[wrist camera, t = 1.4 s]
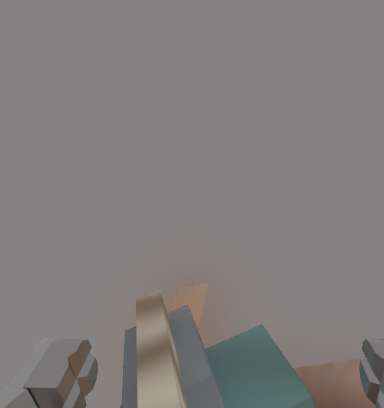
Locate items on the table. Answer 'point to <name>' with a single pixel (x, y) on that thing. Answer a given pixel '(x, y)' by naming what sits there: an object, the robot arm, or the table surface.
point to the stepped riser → (223, 369)
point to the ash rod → (157, 356)
